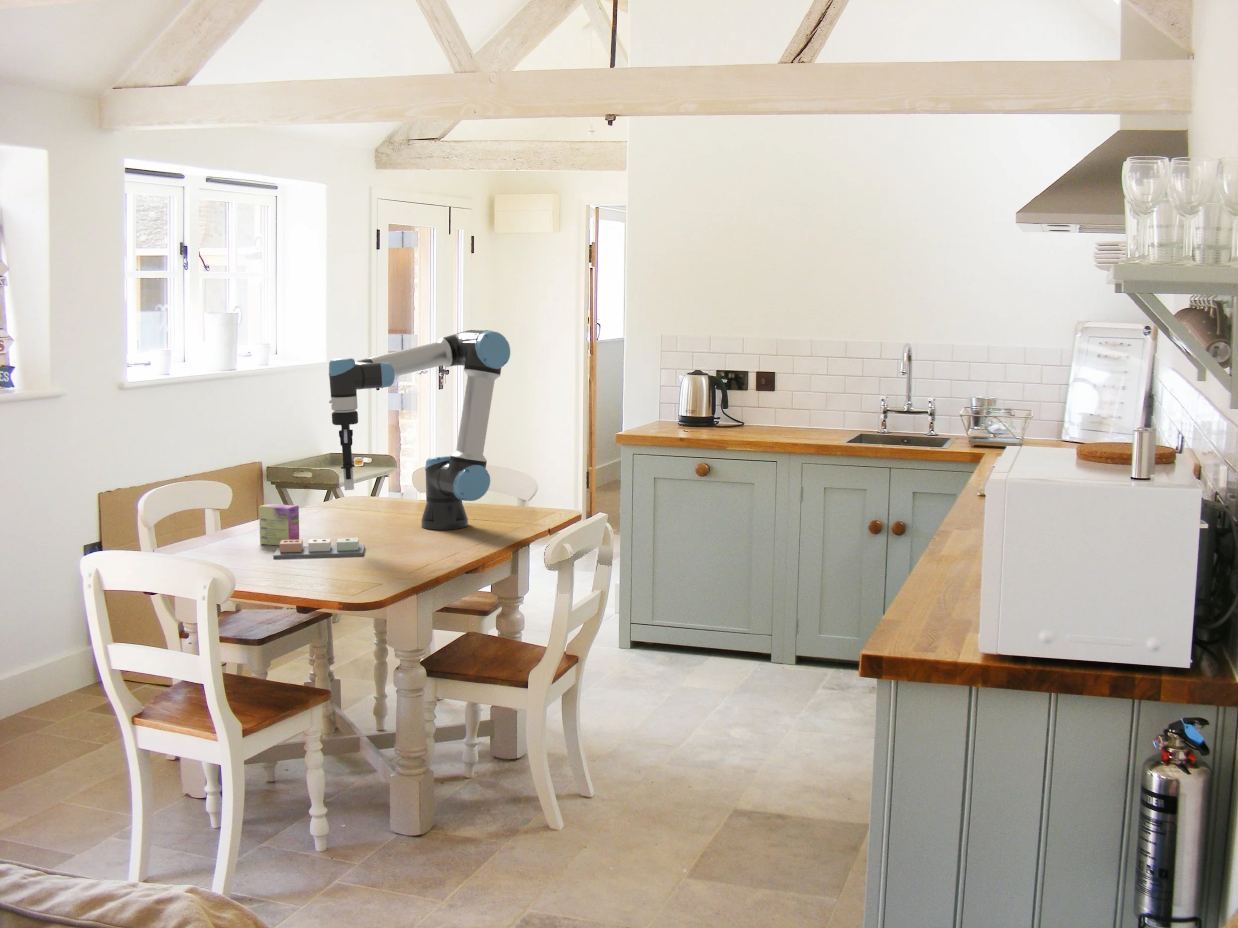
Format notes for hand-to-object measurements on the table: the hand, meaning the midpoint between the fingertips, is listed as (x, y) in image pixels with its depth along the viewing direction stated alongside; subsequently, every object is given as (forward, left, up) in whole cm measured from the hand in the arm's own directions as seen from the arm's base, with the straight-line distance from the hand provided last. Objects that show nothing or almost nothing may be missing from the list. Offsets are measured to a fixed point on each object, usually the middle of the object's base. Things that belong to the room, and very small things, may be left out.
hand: (349, 489), depth 356 cm
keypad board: (+8, +8, -17) cm, 21 cm away
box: (+21, -8, -18) cm, 29 cm away
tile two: (+8, +8, -16) cm, 20 cm away
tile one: (0, +8, -16) cm, 18 cm away
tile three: (+16, +8, -16) cm, 24 cm away
